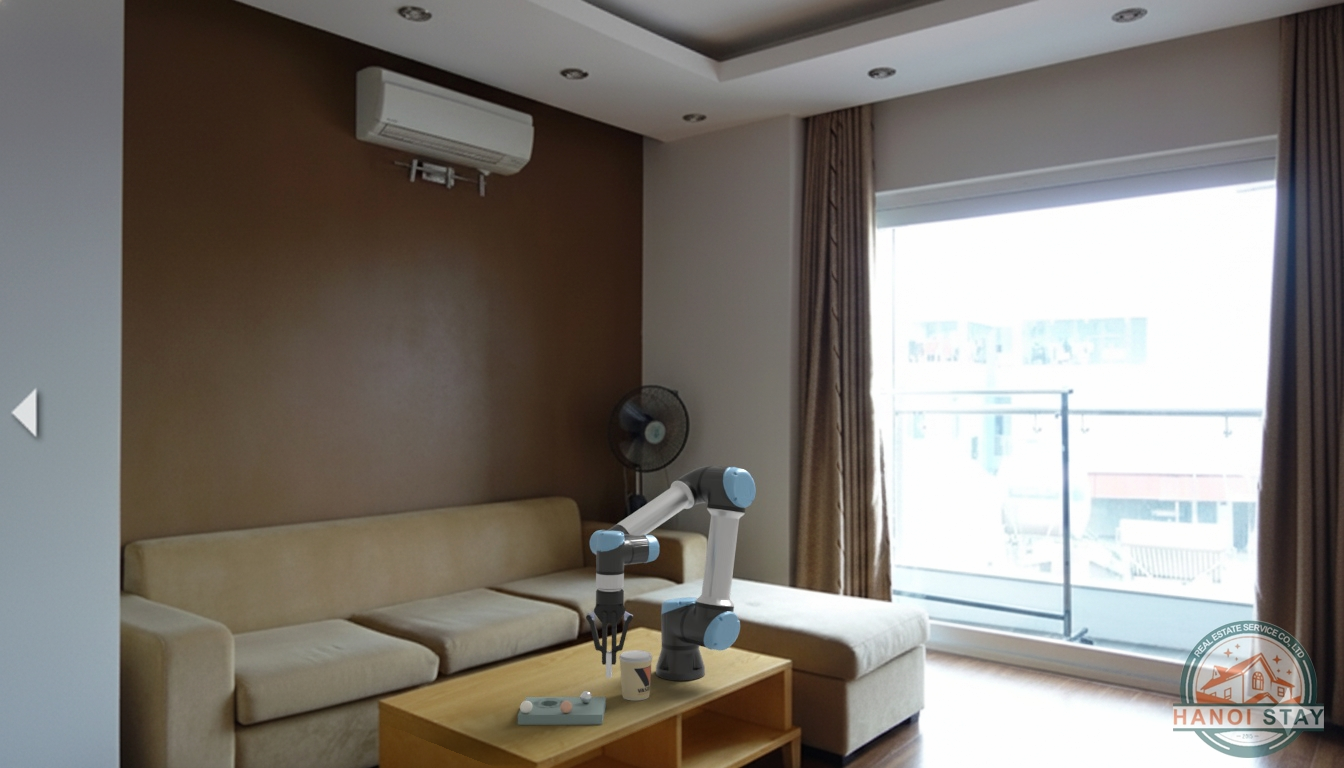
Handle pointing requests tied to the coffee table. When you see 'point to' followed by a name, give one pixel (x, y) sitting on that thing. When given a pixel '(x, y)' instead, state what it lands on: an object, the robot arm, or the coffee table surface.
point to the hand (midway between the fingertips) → (608, 676)
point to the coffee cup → (635, 674)
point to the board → (551, 714)
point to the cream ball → (526, 706)
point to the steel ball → (586, 697)
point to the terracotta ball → (566, 706)
